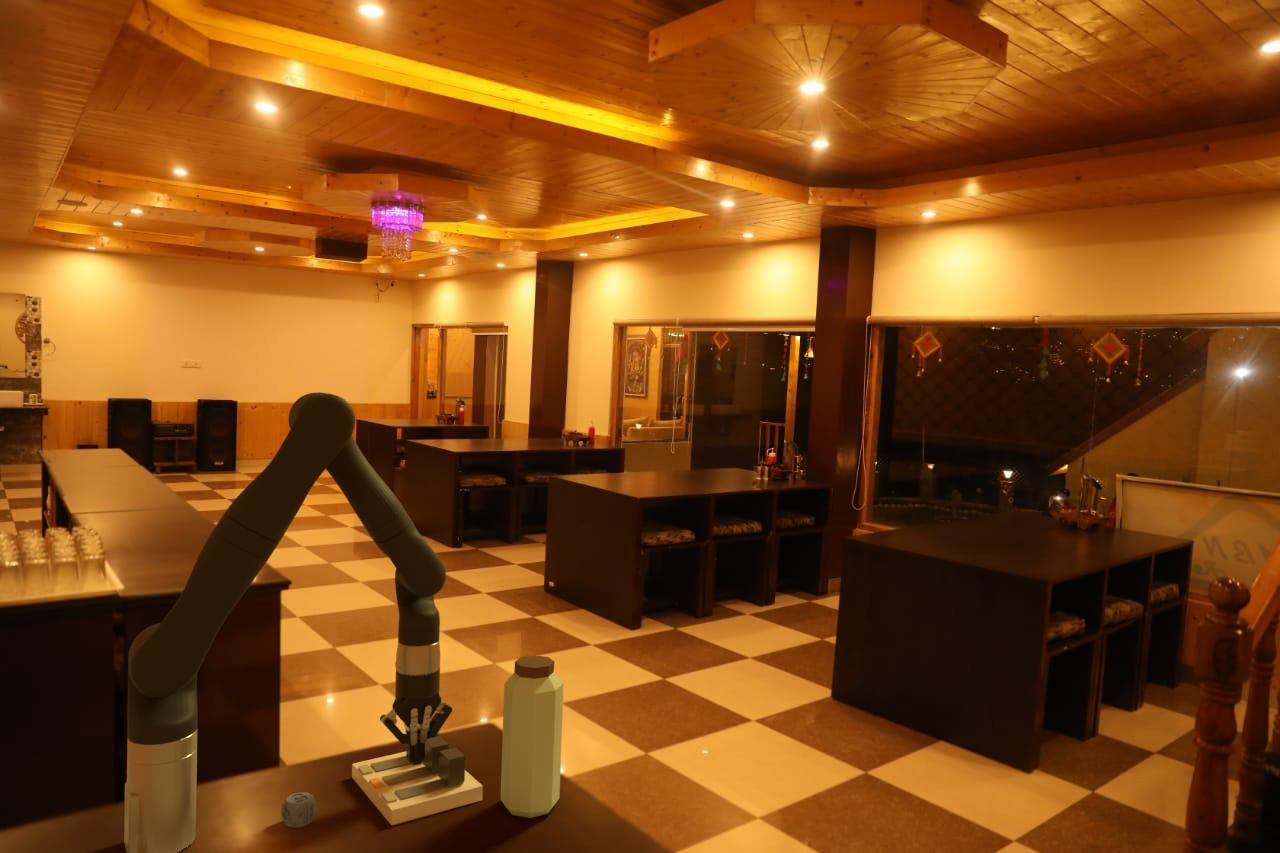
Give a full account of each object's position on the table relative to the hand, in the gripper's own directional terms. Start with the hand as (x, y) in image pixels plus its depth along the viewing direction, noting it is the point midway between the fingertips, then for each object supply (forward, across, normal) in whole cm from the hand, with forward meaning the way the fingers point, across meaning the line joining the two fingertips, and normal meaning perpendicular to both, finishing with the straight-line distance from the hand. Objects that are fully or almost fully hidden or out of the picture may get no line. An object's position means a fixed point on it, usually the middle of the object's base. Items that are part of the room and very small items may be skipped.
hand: (415, 763), depth 149 cm
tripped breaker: (+2, +4, 0) cm, 4 cm away
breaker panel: (+5, 0, 0) cm, 5 cm away
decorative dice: (+5, -20, -1) cm, 20 cm away
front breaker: (+2, +4, -6) cm, 7 cm away
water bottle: (+5, +14, -16) cm, 22 cm away
